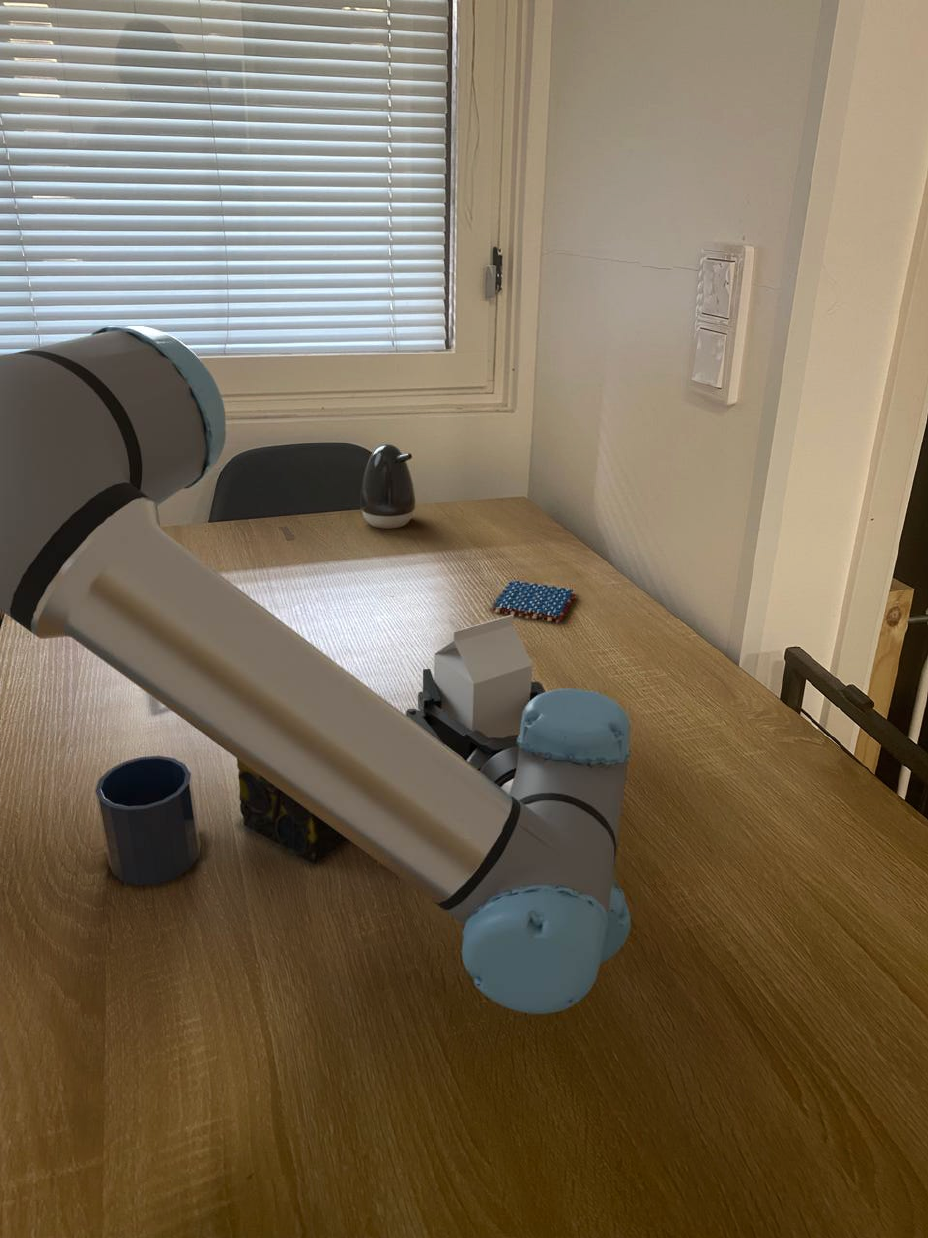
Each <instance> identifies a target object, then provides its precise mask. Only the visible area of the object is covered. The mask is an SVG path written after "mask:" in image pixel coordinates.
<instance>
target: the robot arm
mask: <svg viewBox="0 0 928 1238" xmlns="http://www.w3.org/2000/svg"><path fill="white" fill-rule="evenodd" d="M222 397H223V396H222V395H221V391H220V389H219V387H218V385H217V383H216V381H215V379H214V376H212V374H211V372H210V370H209V369H208V368H207V367H206V365H205V364H204V362H203V361H202V360H201V358H199V356H198V355H197V354H196V353H195V351H193V350H192V349H191V348H189V347H188V346H187V345H186V344H184V343H183V342H182V341H181V340H179V339H177V338H176V337H175V336H173V335H171V334H169V333H167V332H164V331H161V330H158V329H155V328H152V327H147V326H141V325H131V326H129V325H128V326H120V325H110V326H109V325H108V326H106V327H102V328H99V329H96V330H95V331H93V332H92V333H91V334H90V335H86V336H85V335H84V336H82V337H78V338H74V339H69V340H68V339H67V340H65V341H64V340H63V341H60V342H56V343H51V344H47V345H44V346H39V347H35V348H30V349H27V350H21V351H17V352H14V353H7V354H6V353H5V354H0V611H2V612H3V613H4V614H5V615H7V616H8V617H10V619H12V620H13V621H15V622H16V623H18V624H19V625H21V627H23V628H25V629H26V630H27V631H29V632H30V633H32V634H33V635H34V636H36V637H37V638H39V639H41V640H48V639H57V638H67V637H69V638H71V639H73V640H74V641H75V642H77V643H78V644H80V645H81V646H82V647H83V648H85V649H86V650H88V651H89V652H90V653H92V654H94V655H95V656H96V657H97V658H99V659H100V660H102V661H103V662H104V663H106V664H107V665H108V666H110V667H111V668H113V669H114V670H115V671H117V672H118V673H120V675H122V676H124V677H125V678H126V679H128V680H129V681H130V682H132V683H133V684H135V685H136V686H137V687H139V688H140V690H141V689H142V690H143V691H144V692H145V693H147V694H148V695H149V696H150V697H152V698H154V699H155V700H157V702H159V703H160V704H162V705H163V706H165V707H166V708H167V709H169V710H170V711H172V712H173V713H174V714H175V715H177V716H179V717H180V718H181V719H182V720H183V721H185V722H187V724H189V725H191V726H192V727H193V728H195V729H197V730H198V731H199V732H201V733H202V734H203V735H205V737H207V738H209V739H210V740H211V741H213V742H214V743H215V744H217V745H218V746H219V747H221V748H222V749H223V750H225V751H227V752H228V753H229V754H231V756H233V757H235V758H236V760H237V759H239V760H240V761H242V762H243V763H244V764H246V765H247V766H248V767H250V768H251V769H253V770H254V771H255V772H257V773H258V774H259V775H261V776H262V777H264V778H265V779H266V780H268V781H269V782H270V783H272V784H273V785H274V786H276V787H277V788H279V789H280V790H281V791H283V792H284V793H285V794H287V795H288V796H290V797H291V798H292V799H294V800H295V801H296V802H298V803H299V804H301V805H302V806H303V807H305V808H306V809H307V810H309V811H310V812H311V813H313V814H314V815H316V816H317V817H318V818H320V819H321V820H322V821H324V822H325V823H327V824H328V825H329V826H331V827H332V828H333V829H335V830H336V831H338V832H339V833H340V834H342V835H343V836H344V837H346V838H347V839H348V840H349V841H350V842H351V843H353V844H354V845H355V846H356V847H358V848H359V849H361V851H364V852H365V853H366V854H367V855H369V856H370V857H372V858H373V859H375V861H377V862H379V863H380V864H381V865H382V866H384V867H385V868H387V869H388V870H389V871H391V872H392V873H393V874H395V875H396V876H398V877H399V878H401V879H402V880H403V881H404V882H406V883H407V884H408V885H411V887H413V888H414V889H415V890H417V891H418V892H420V893H421V894H423V895H424V896H425V897H427V898H428V899H429V900H430V901H432V902H433V903H434V904H435V905H436V906H438V907H440V908H441V909H442V910H444V912H446V913H447V914H448V915H450V916H451V917H452V918H454V919H455V920H456V921H457V922H459V923H460V924H462V925H463V926H464V928H463V930H462V931H461V938H462V939H461V940H462V946H461V957H462V963H463V965H464V968H465V970H466V972H467V973H468V974H469V975H470V977H471V979H472V980H473V982H474V986H475V987H476V988H477V989H478V990H479V992H481V994H483V995H484V996H486V997H487V998H488V999H489V1000H491V1001H492V1002H494V1003H496V1004H498V1005H499V1006H501V1007H504V1008H507V1009H510V1010H512V1011H515V1012H518V1013H523V1014H531V1015H545V1014H552V1013H558V1012H561V1011H564V1010H566V1009H568V1008H570V1007H572V1006H574V1005H575V1004H576V1003H579V1002H580V1001H583V999H584V997H586V996H587V994H589V992H590V991H591V989H592V988H593V986H594V984H595V983H596V980H597V977H598V974H599V971H600V965H601V964H604V963H605V962H607V961H608V960H610V959H611V958H613V957H614V956H615V955H616V954H617V953H618V952H619V951H620V950H621V948H622V947H623V946H624V945H625V943H626V941H627V939H628V937H629V935H630V932H631V926H632V920H631V919H632V918H631V917H632V916H631V913H630V910H629V907H628V905H627V903H626V895H625V894H624V893H625V892H624V891H623V888H621V886H619V885H618V883H617V880H616V863H617V856H618V855H617V854H618V847H619V844H618V843H619V833H620V825H621V819H622V811H623V804H624V803H623V802H624V796H625V795H624V794H625V787H626V780H627V774H628V773H627V772H628V766H629V765H628V764H629V760H630V757H631V752H632V750H631V749H630V739H631V738H630V736H631V722H630V718H629V716H628V714H627V712H626V710H625V709H624V708H623V707H622V706H621V705H620V704H619V703H618V702H617V701H615V700H614V699H612V698H611V697H608V696H606V695H604V694H603V693H602V694H601V693H600V692H596V691H593V690H586V689H579V688H578V689H577V688H572V687H571V688H569V687H567V688H566V687H565V688H558V689H552V690H548V691H546V689H545V688H544V686H543V684H542V683H541V682H540V681H532V680H531V692H530V702H529V703H528V704H527V705H526V707H525V708H524V710H523V713H522V721H521V729H520V735H519V736H518V735H512V736H507V737H503V738H498V737H491V738H488V737H487V736H485V735H484V734H482V733H481V732H480V731H478V730H475V731H471V730H470V729H468V728H467V727H466V726H464V725H463V724H461V723H460V722H458V721H457V720H456V719H454V718H453V717H451V716H450V715H448V714H447V713H445V712H444V711H443V710H441V699H440V696H439V693H438V690H437V687H436V684H435V682H434V675H433V673H432V671H431V668H424V669H422V691H418V693H417V708H418V709H417V708H408V709H406V710H405V714H404V713H403V711H400V710H399V709H398V708H397V707H395V706H394V705H392V704H391V703H390V702H389V701H387V700H386V699H385V698H383V697H382V695H380V694H378V693H377V692H375V691H374V690H373V689H372V688H370V687H369V686H368V685H366V684H365V683H363V682H362V681H361V680H360V679H359V678H357V677H356V676H355V675H353V674H352V673H351V672H349V671H348V670H347V669H345V668H344V667H342V666H341V665H340V664H338V662H337V661H335V660H333V659H332V658H330V657H329V656H328V655H327V654H325V653H324V652H323V651H322V650H320V649H319V648H318V647H316V646H315V645H314V644H312V643H310V641H308V640H307V639H306V638H304V637H303V636H302V635H300V634H299V633H298V632H297V631H295V630H294V629H293V628H292V627H290V626H288V625H287V624H286V623H285V622H283V621H282V620H281V619H280V618H278V617H277V616H276V615H274V614H272V613H271V612H270V611H269V610H268V609H266V608H265V607H264V606H262V605H261V604H259V603H258V602H257V601H256V600H254V599H253V598H252V597H250V596H249V595H248V594H246V593H245V592H243V590H241V589H240V588H238V587H237V586H236V585H234V584H233V583H232V582H231V581H229V580H228V579H226V578H225V577H224V576H222V575H221V574H220V573H218V572H217V571H216V570H214V569H213V568H212V567H211V566H209V565H208V564H207V563H205V562H204V561H202V560H201V559H200V558H199V557H198V556H196V555H195V554H193V553H192V552H191V551H190V550H189V549H187V548H186V547H185V546H183V545H182V544H181V543H179V542H178V541H177V540H175V539H174V538H172V537H171V536H170V535H169V534H167V533H166V532H164V530H163V529H162V527H161V522H160V516H159V515H160V514H159V508H158V506H160V505H161V504H162V503H164V502H165V501H167V500H168V499H170V498H171V497H172V496H174V495H175V494H177V493H179V492H180V491H182V490H185V489H191V488H193V487H194V486H196V485H198V484H199V483H200V482H201V481H202V480H203V479H204V478H205V476H206V475H207V474H208V473H209V472H210V471H211V470H212V469H213V468H214V467H215V465H216V464H217V463H218V461H219V459H220V457H221V455H222V453H223V450H224V447H225V443H226V437H227V430H226V427H227V426H226V424H227V422H226V409H225V405H224V404H225V403H224V401H223V398H222ZM444 744H445V745H446V746H445V745H444ZM448 747H449V748H450V749H449V748H448ZM452 750H453V751H454V752H453V751H452ZM455 752H456V753H457V754H458V755H457V754H456V753H455ZM459 755H460V756H461V757H462V758H463V759H462V758H461V757H460V756H459Z"/></svg>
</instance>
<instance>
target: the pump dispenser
mask: <svg viewBox="0 0 928 1238" xmlns="http://www.w3.org/2000/svg"><path fill="white" fill-rule="evenodd" d="M412 458H413V454H412V453H410V452H409V453H404V454H403V453H402V451H401V450H400V449H399V448H398V446H396V445H393V444H390V443H384V444H381V445H379V446H377V447H376V448H375V449H374V450H373V451H372V453H371V455H370V457H369V459H368V462H367V464H366V467H365V469H364V473H363V476H362V482H361V488H360V495H359V508H360V510H361V512H362V516H363V518H364V519H365V521H366V522H367V523H368V524H369V525H370V526H372V527H373V528H377V529H382V530H383V529H385V530H391V529H398V528H399V529H400V528H403V527H404V526H406V525H407V524H408V523H409V522H410V521H411V519H412V517H413V515H414V512H415V510H416V508H417V501H416V493H415V492H416V491H415V486H414V482H413V478H412V475H411V471H410V468H409V465H408V463H407V461H409V460H412Z"/></svg>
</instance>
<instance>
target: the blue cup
mask: <svg viewBox="0 0 928 1238" xmlns="http://www.w3.org/2000/svg"><path fill="white" fill-rule="evenodd" d="M95 787H96V788H95V790H94V792H95V796H96V801H97V807H98V813H99V819H100V822H101V823H100V824H101V829H102V833H103V834H102V835H103V840H104V844H105V851H106V855H107V861H108V865H109V868H110V871H111V873H112V875H113V876H114V877H115V878H117V880H120V881H121V882H123V883H125V884H129V885H135V886H138V887H139V886H153V885H159V884H162V883H166V882H169V881H171V880H174V879H176V878H179V877H180V876H181V875H183V874H184V873H186V872H187V871H189V870H190V869H192V867H193V866H194V864H195V863H196V862H197V860H198V859H199V858H200V853H201V839H200V831H199V824H198V815H197V807H196V800H195V793H194V785H193V777H192V772H191V770H190V769H189V767H188V765H187V763H185V762H183V761H181V760H180V759H177V758H176V757H170V756H165V755H148V756H147V755H146V756H140V757H139V756H138V757H136V758H132V759H128V760H125V761H122V762H121V763H119V764H117V765H115V766H113V767H111V768H109V769H108V770H107V771H106V772H105V773H104V774H103V775H102V776H101V777H100V778H99V779H98V781H97V784H96V786H95Z"/></svg>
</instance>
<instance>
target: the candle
mask: <svg viewBox="0 0 928 1238" xmlns="http://www.w3.org/2000/svg"><path fill="white" fill-rule="evenodd" d="M236 766H237V769H238V775H237V777H238V784H239V801H240V804H239V810H240V811H239V812H240V814H241V815H242V817H243V818H242V820H243V823H242V824H243V825H244V827H248V828H249V829H250V830H252V831H254V832H255V833H257V834H259V835H261V836H263V837H266V838H267V839H269V840H271V841H272V842H274V843H276V844H278V845H280V846H281V847H283V849H284V850H285V851H287V852H289V853H291V854H293V855H297V856H298V857H300V858H302V859H303V860H305V861H307V862H308V863H309V864H312V865H316V864H317V862H319V861H320V860H322V859H323V858H325V857H326V856H328V854H330V853H331V852H332V851H335V850H336V849H337V848H338V847H339V846H341V845H342V844H343V842H345V841H347V840H349V839H347V838H346V837H344V836H343V835H342V834H340V833H339V832H338V831H336V830H335V829H333V828H332V827H331V826H329V825H328V824H327V823H325V822H324V821H322V820H321V819H320V818H318V817H317V816H316V815H314V814H313V813H311V812H310V811H309V810H307V809H306V808H305V807H303V806H302V805H301V804H299V803H298V802H296V801H295V800H294V799H292V798H291V797H290V796H288V795H287V794H285V793H284V792H283V791H281V790H280V789H279V788H277V787H276V786H274V785H273V784H272V783H270V782H269V781H268V780H266V779H265V778H264V777H262V776H261V775H259V774H258V773H257V772H255V771H254V770H253V769H251V768H250V767H248V766H247V765H246V764H244V763H243V762H242V761H240V760H239V759H237V758H236Z"/></svg>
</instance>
